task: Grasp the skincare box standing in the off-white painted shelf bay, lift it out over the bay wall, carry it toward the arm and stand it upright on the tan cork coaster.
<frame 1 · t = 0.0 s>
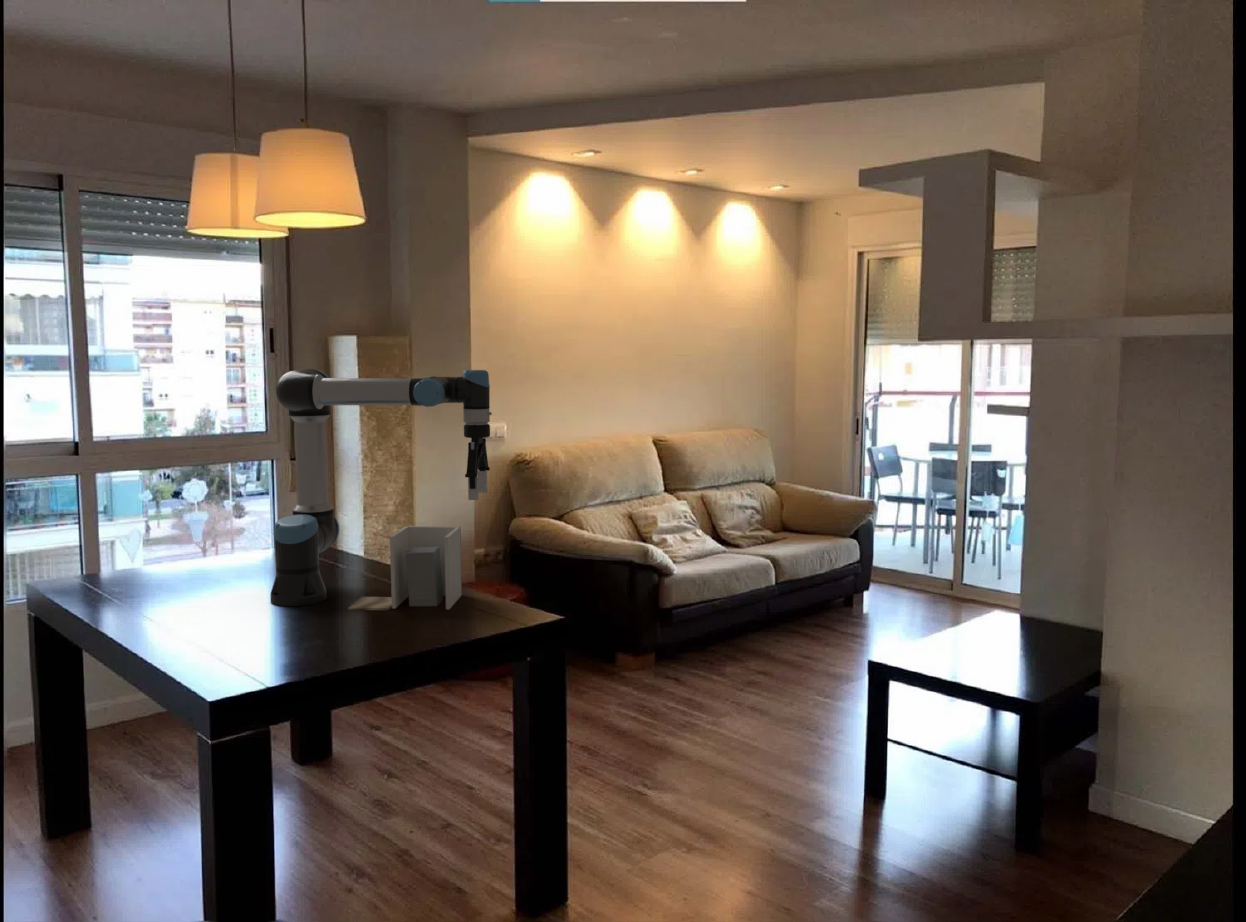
hand: (478, 496, 293), 28 cm above the table, fingers open, 13 cm apart
shelf bay: (427, 601, 284), on the table
skincare box: (425, 605, 281), on the table
cork coaster: (374, 604, 280), on the table
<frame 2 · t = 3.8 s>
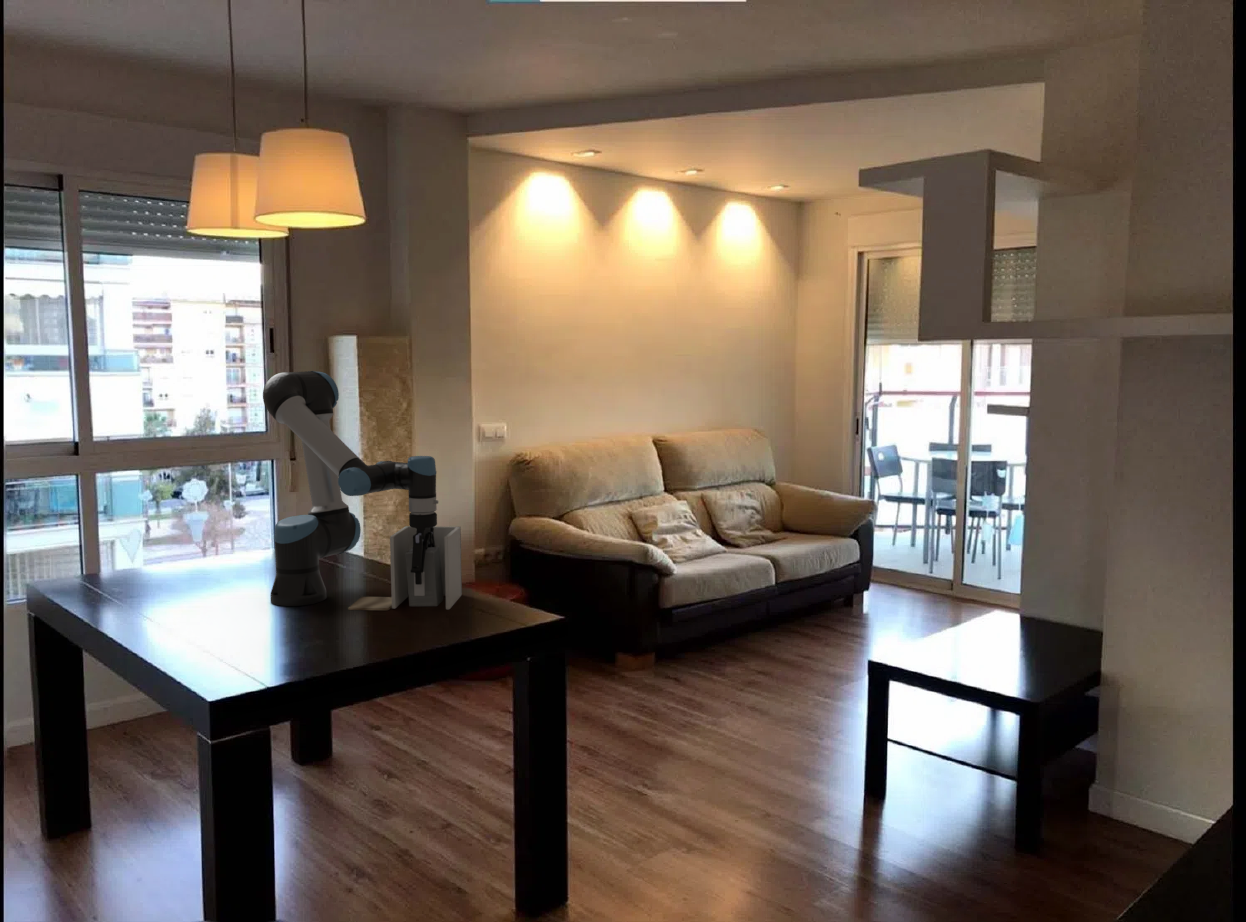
hand: (424, 590, 280), 4 cm above the table, fingers open, 11 cm apart
nothing on the table moved.
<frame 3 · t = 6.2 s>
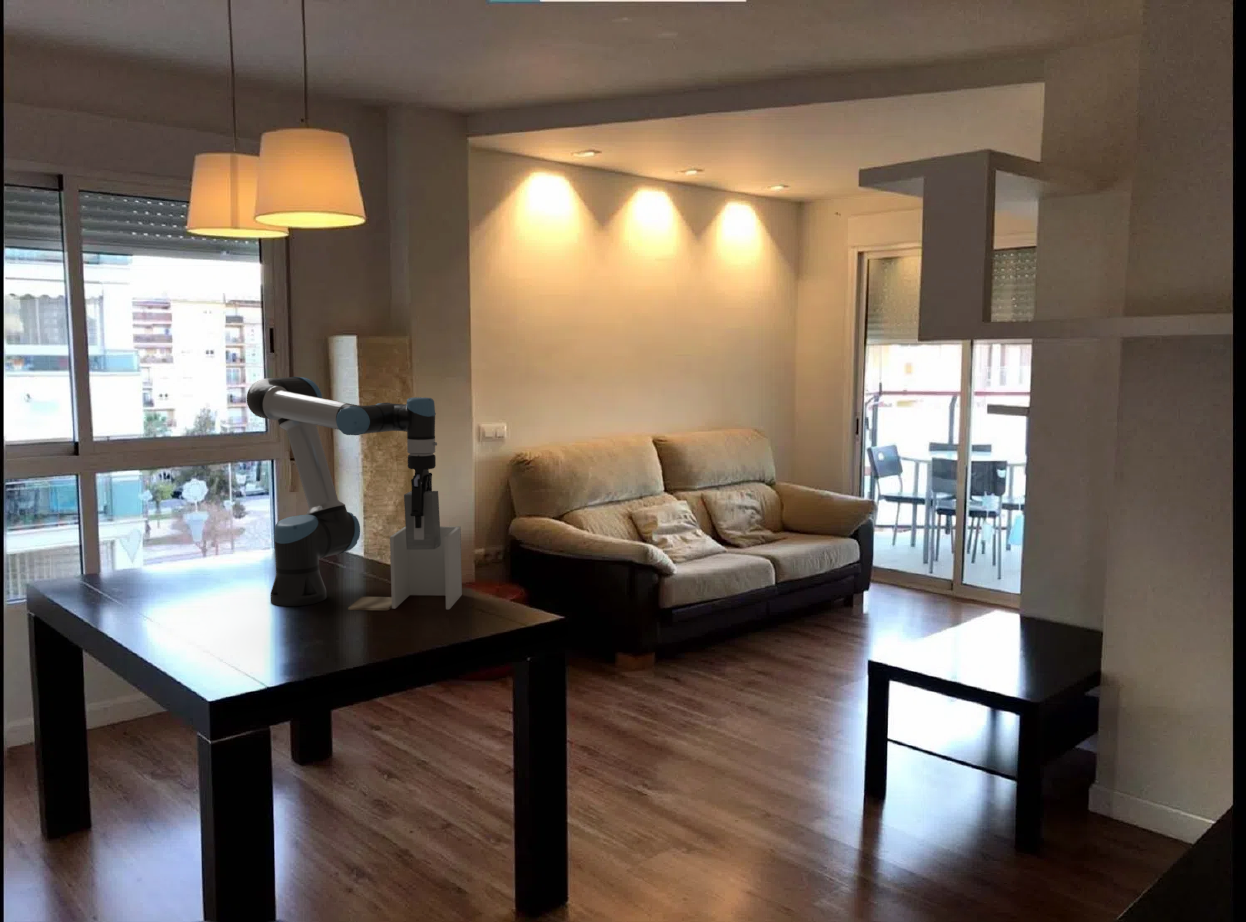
hand: (422, 536, 279), 19 cm above the table, fingers closed on skincare box, 7 cm apart
skincare box: (422, 549, 279), point 16 cm above the table, touching gripper
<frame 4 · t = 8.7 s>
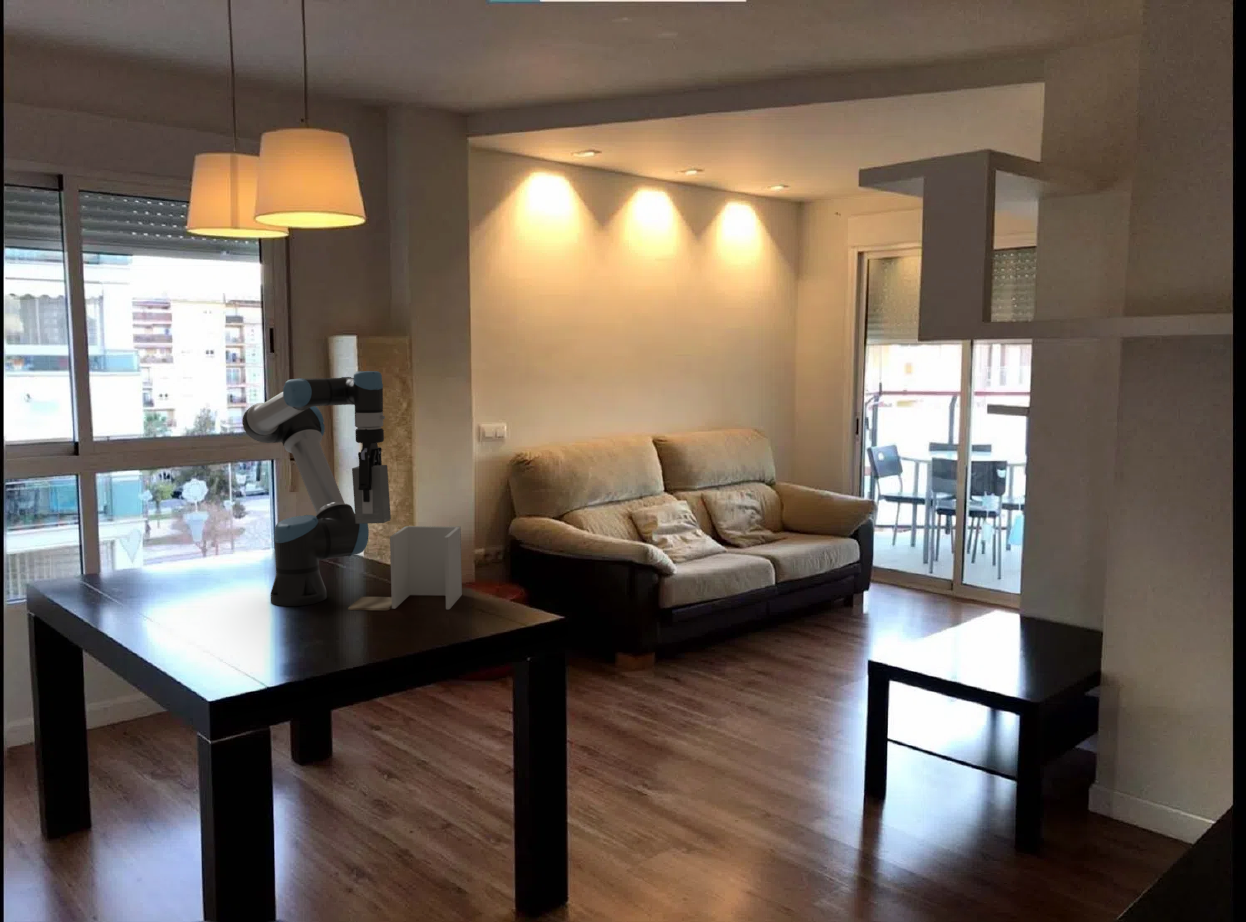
hand: (371, 511, 277), 26 cm above the table, fingers closed on skincare box, 7 cm apart
skincare box: (371, 523, 277), point 23 cm above the table, touching gripper
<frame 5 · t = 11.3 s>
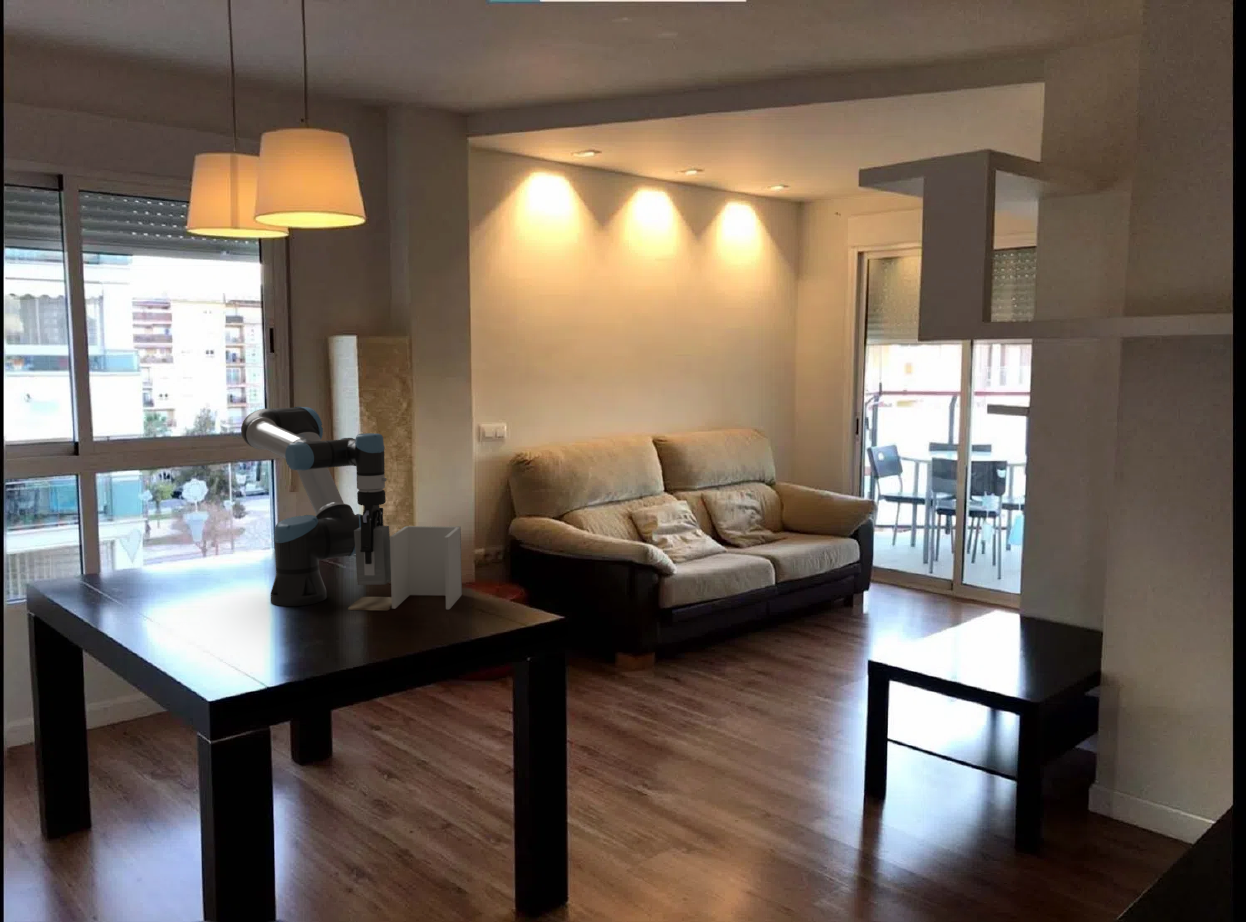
hand: (373, 571, 279), 9 cm above the table, fingers closed on skincare box, 7 cm apart
skincare box: (373, 584, 279), point 6 cm above the table, touching gripper
when the fingers open (5 cm above the table, at t = 13.2 s): skincare box stays where it is, resting on cork coaster.
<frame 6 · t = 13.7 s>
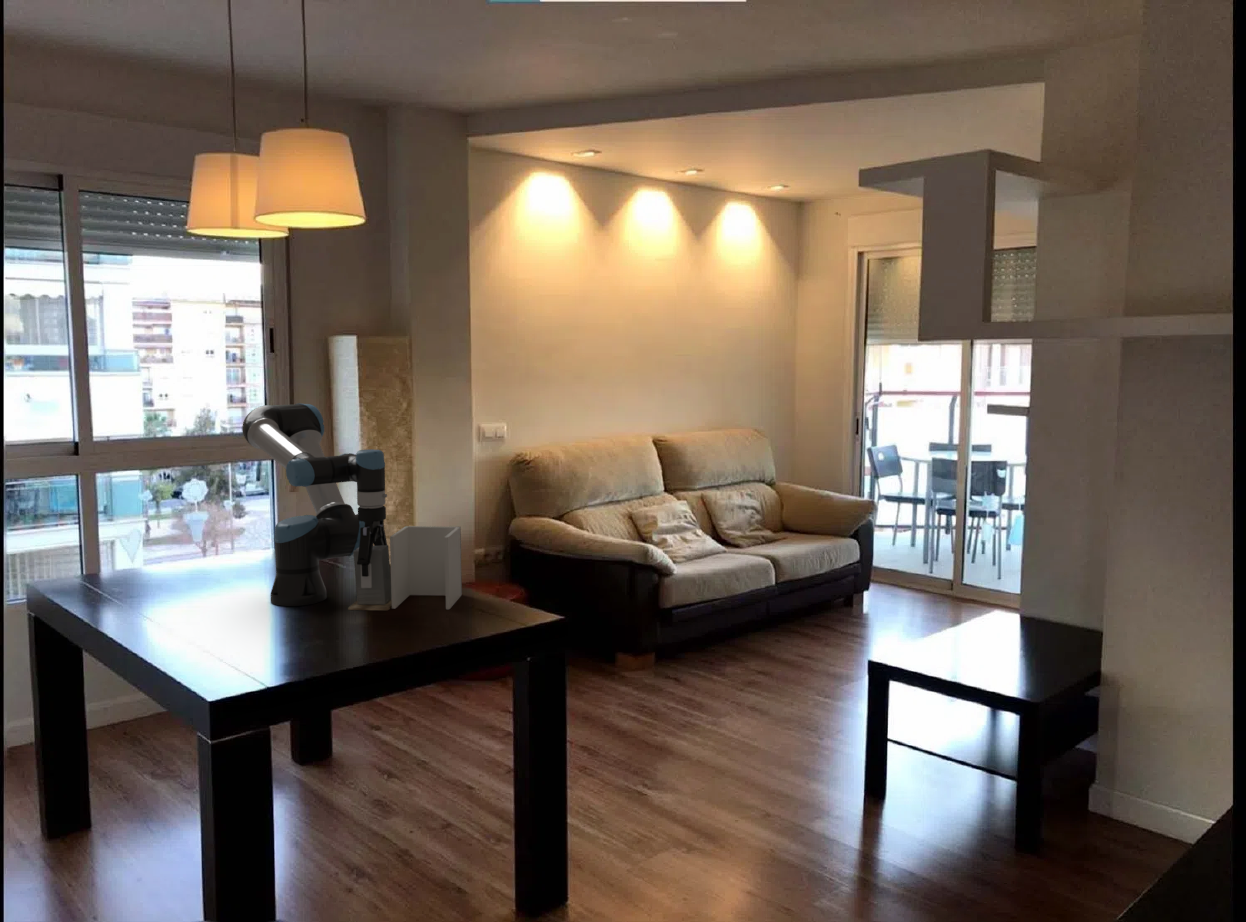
hand: (373, 581, 280), 6 cm above the table, fingers open, 13 cm apart
skincare box: (373, 603, 280), resting on cork coaster
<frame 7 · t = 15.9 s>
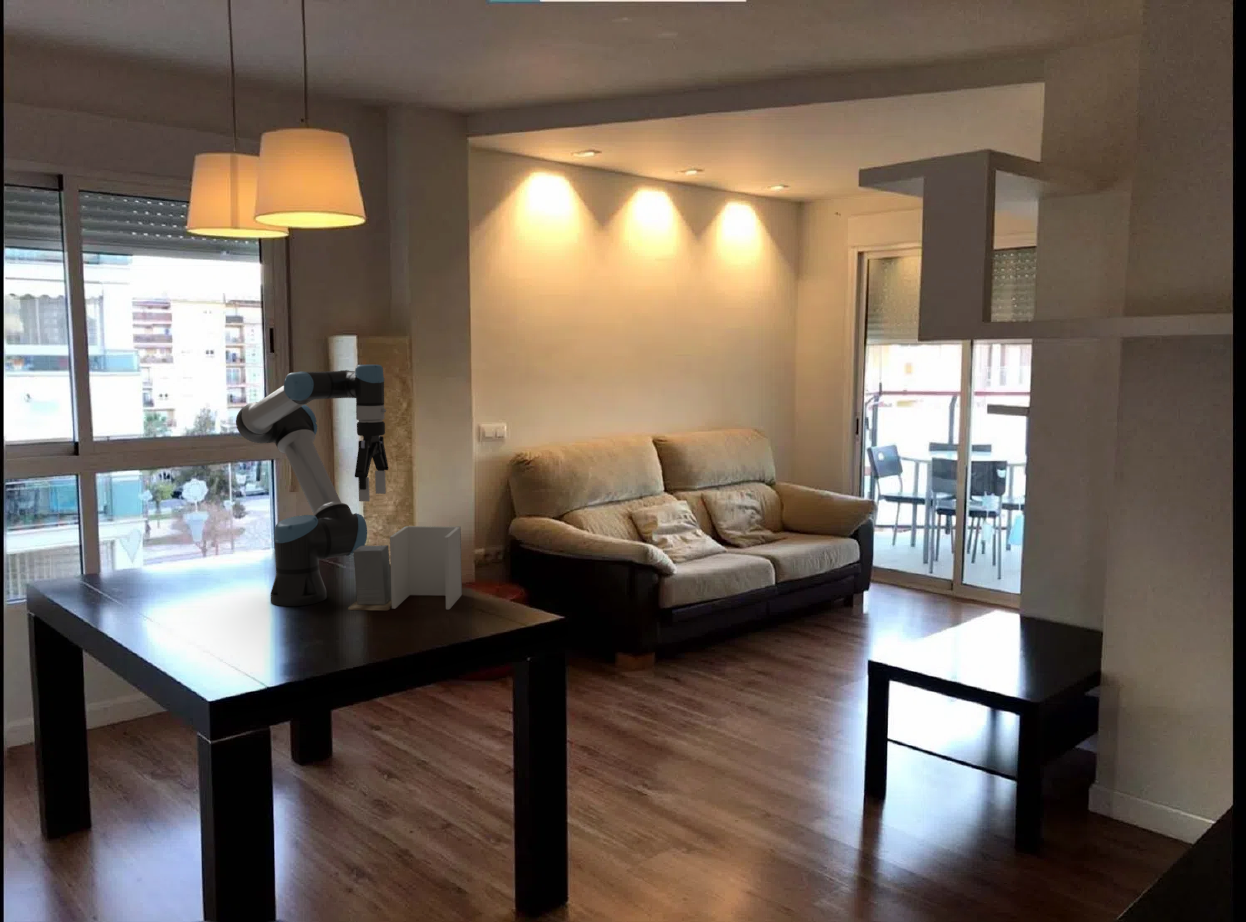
hand: (372, 497, 279), 30 cm above the table, fingers open, 13 cm apart
nothing on the table moved.
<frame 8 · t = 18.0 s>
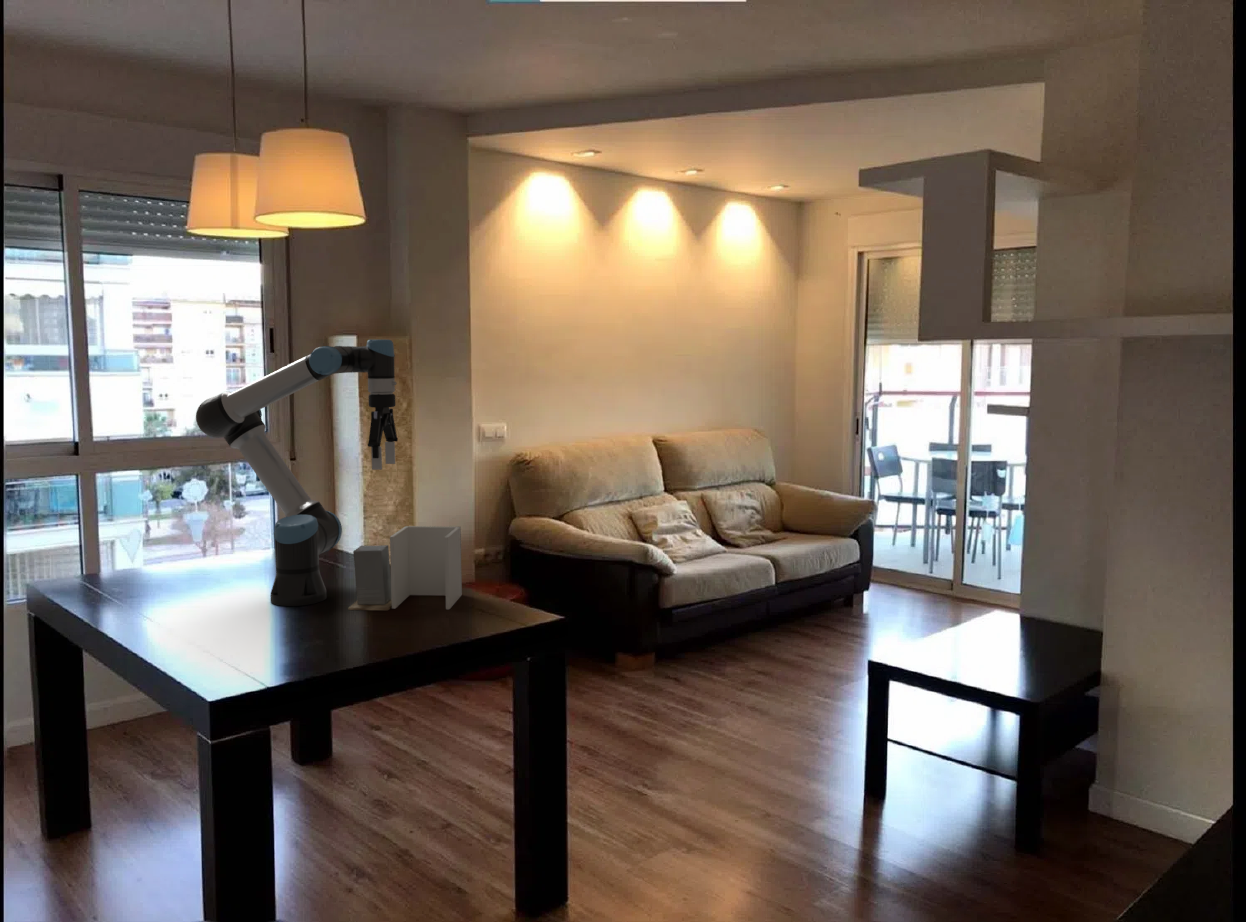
hand: (383, 466, 292), 37 cm above the table, fingers open, 13 cm apart
nothing on the table moved.
at the end: skincare box inside the target area on the cork coaster (0.3 cm from its centre), point 0.4 cm above the cork coaster's base; skincare box tilted 0°; the gripper is holding nothing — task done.
